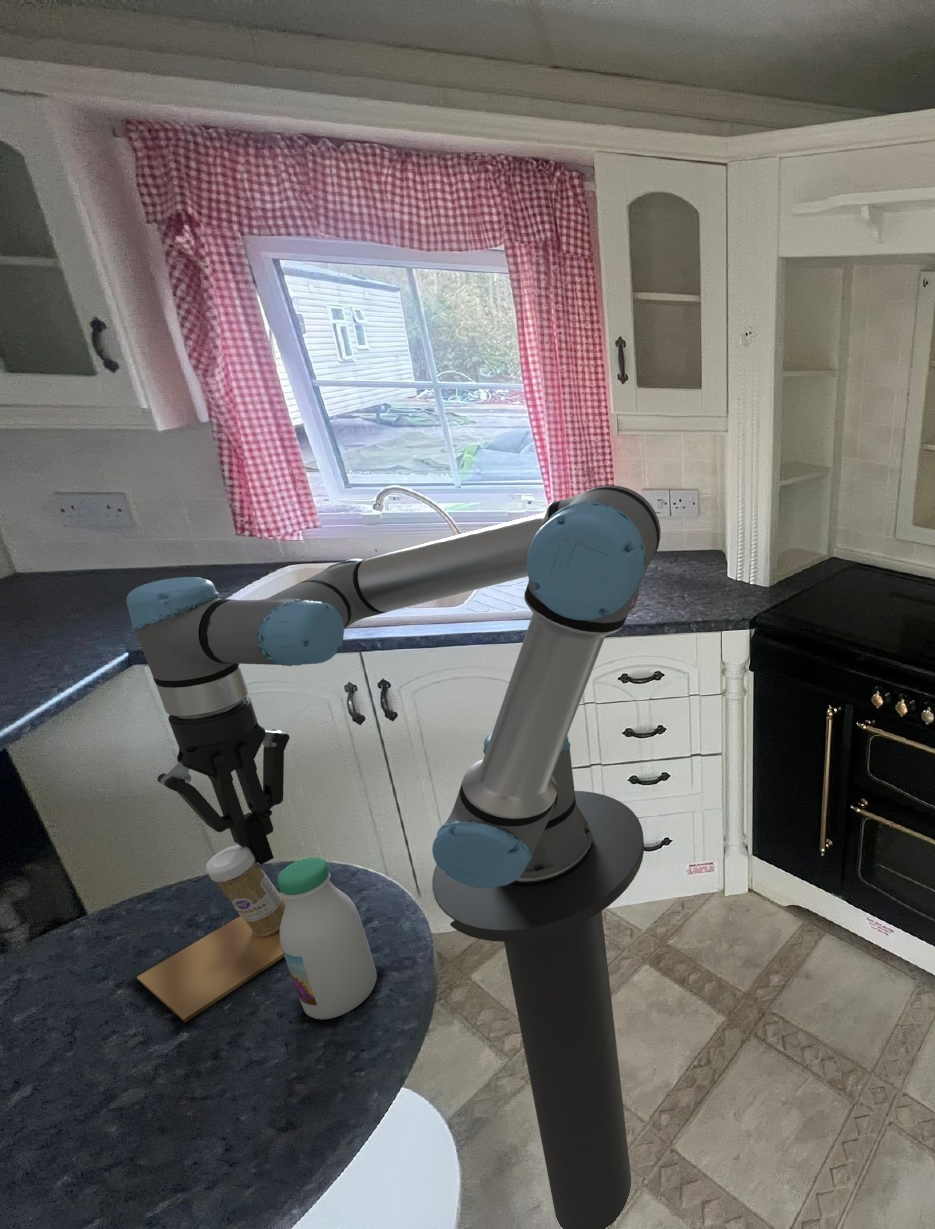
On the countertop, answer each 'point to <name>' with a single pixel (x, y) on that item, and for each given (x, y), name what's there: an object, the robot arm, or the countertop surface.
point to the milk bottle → (323, 941)
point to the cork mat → (211, 968)
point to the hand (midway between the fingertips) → (262, 857)
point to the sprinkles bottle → (248, 889)
